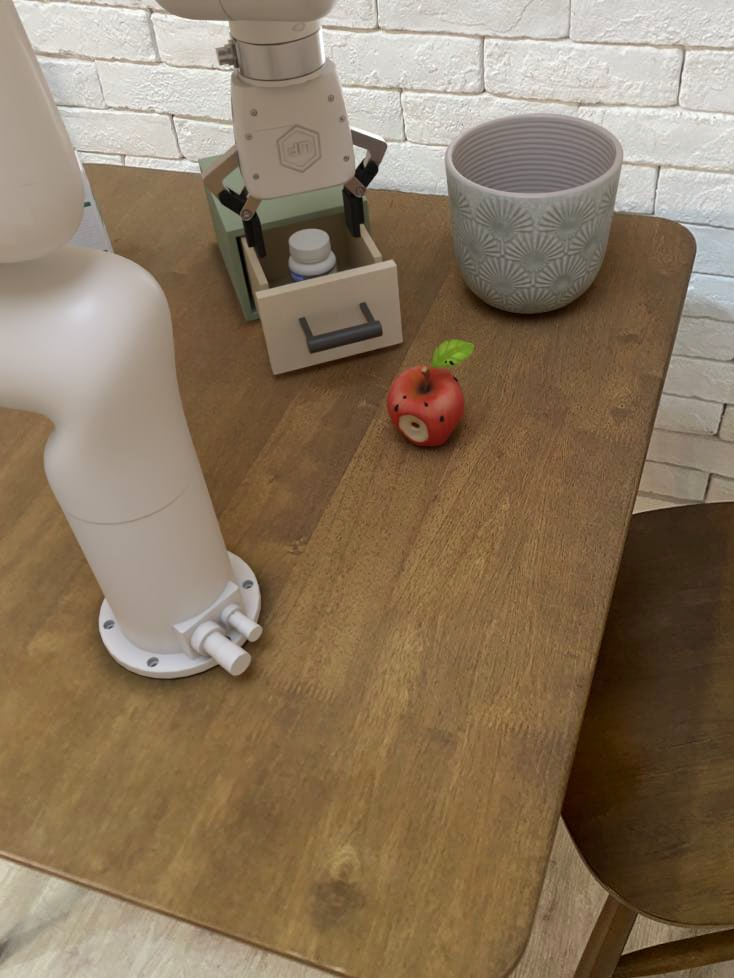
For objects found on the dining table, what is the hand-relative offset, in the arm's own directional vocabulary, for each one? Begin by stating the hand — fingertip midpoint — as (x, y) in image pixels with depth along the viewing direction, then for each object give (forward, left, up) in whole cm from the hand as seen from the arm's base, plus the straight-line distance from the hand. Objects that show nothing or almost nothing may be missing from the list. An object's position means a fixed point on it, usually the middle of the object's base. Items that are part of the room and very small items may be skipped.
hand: (307, 241), depth 91 cm
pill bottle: (0, 0, -8) cm, 8 cm away
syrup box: (+27, +9, -10) cm, 30 cm away
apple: (-20, +5, -10) cm, 23 cm away
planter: (-13, -19, -10) cm, 25 cm away
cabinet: (+11, -7, -10) cm, 16 cm away
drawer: (-1, +1, -9) cm, 9 cm away
